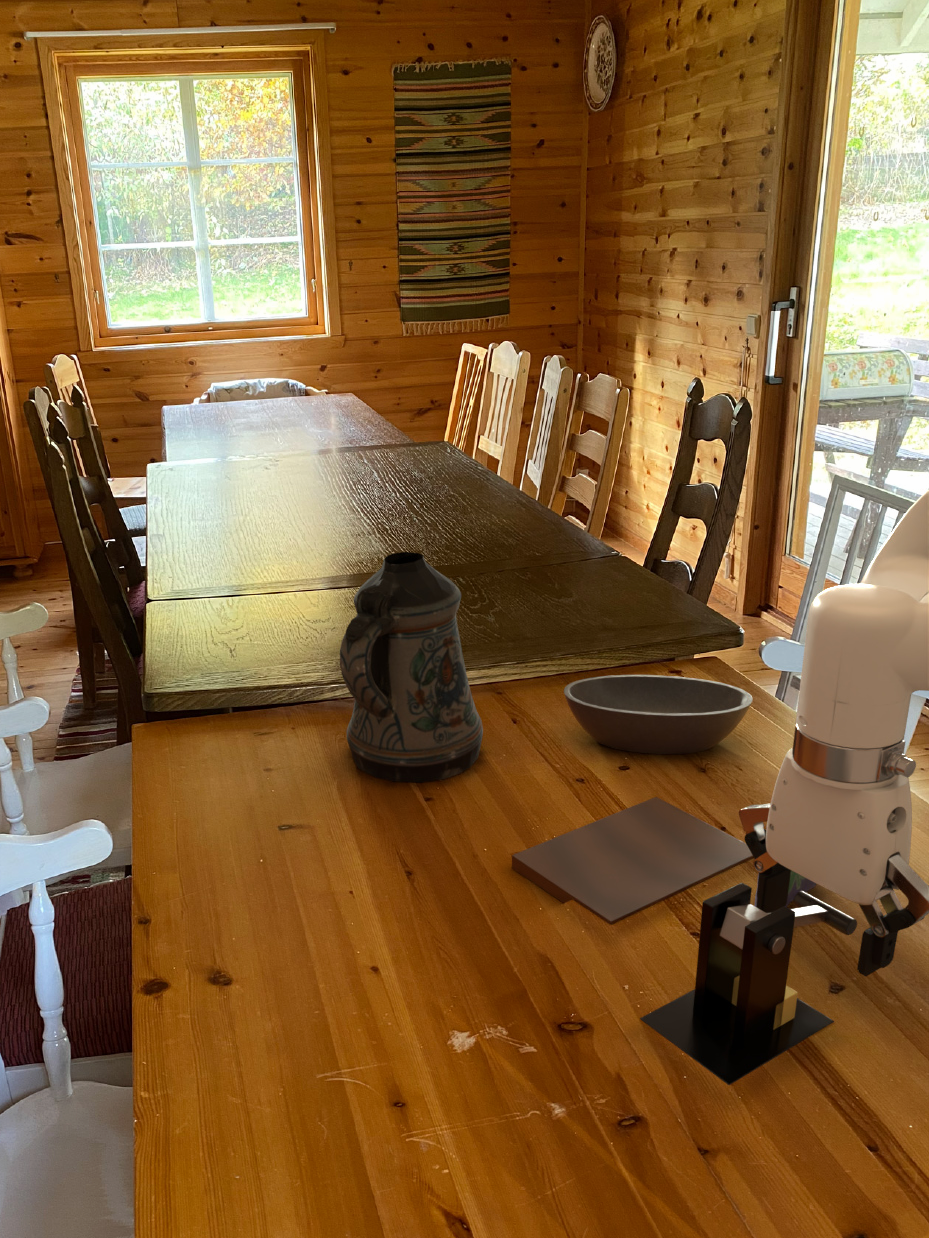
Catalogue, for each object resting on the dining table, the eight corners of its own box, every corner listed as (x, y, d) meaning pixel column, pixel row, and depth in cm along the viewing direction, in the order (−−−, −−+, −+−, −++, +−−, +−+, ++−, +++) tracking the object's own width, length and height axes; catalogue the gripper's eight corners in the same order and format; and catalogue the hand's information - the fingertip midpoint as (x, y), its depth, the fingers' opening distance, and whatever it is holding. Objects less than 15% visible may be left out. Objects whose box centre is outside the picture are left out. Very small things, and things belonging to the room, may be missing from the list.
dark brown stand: (741, 974, 93) (754, 855, 89) (832, 1033, 86) (852, 907, 82) (638, 1030, 88) (646, 905, 83) (727, 1098, 81) (742, 966, 76)
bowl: (565, 716, 143) (566, 671, 140) (743, 724, 138) (747, 678, 136) (559, 758, 132) (560, 710, 129) (752, 768, 127) (757, 719, 125)
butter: (743, 985, 90) (746, 960, 89) (794, 1018, 86) (798, 992, 85) (721, 997, 89) (724, 971, 88) (772, 1031, 85) (775, 1005, 84)
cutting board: (655, 808, 120) (656, 796, 119) (759, 864, 109) (761, 851, 108) (511, 868, 110) (511, 855, 110) (610, 935, 99) (611, 921, 99)
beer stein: (485, 725, 141) (484, 535, 131) (478, 799, 124) (476, 586, 114) (358, 723, 143) (347, 536, 134) (333, 795, 126) (319, 586, 116)
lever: (799, 910, 91) (807, 884, 91) (852, 940, 88) (861, 913, 87) (704, 927, 85) (712, 898, 84) (757, 959, 81) (766, 930, 80)
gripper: (987, 778, 78) (947, 975, 85) (783, 700, 91) (764, 876, 98) (922, 810, 74) (887, 1013, 81) (721, 724, 88) (705, 905, 95)
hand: (819, 938), depth 90 cm, fingers open, 9 cm apart
